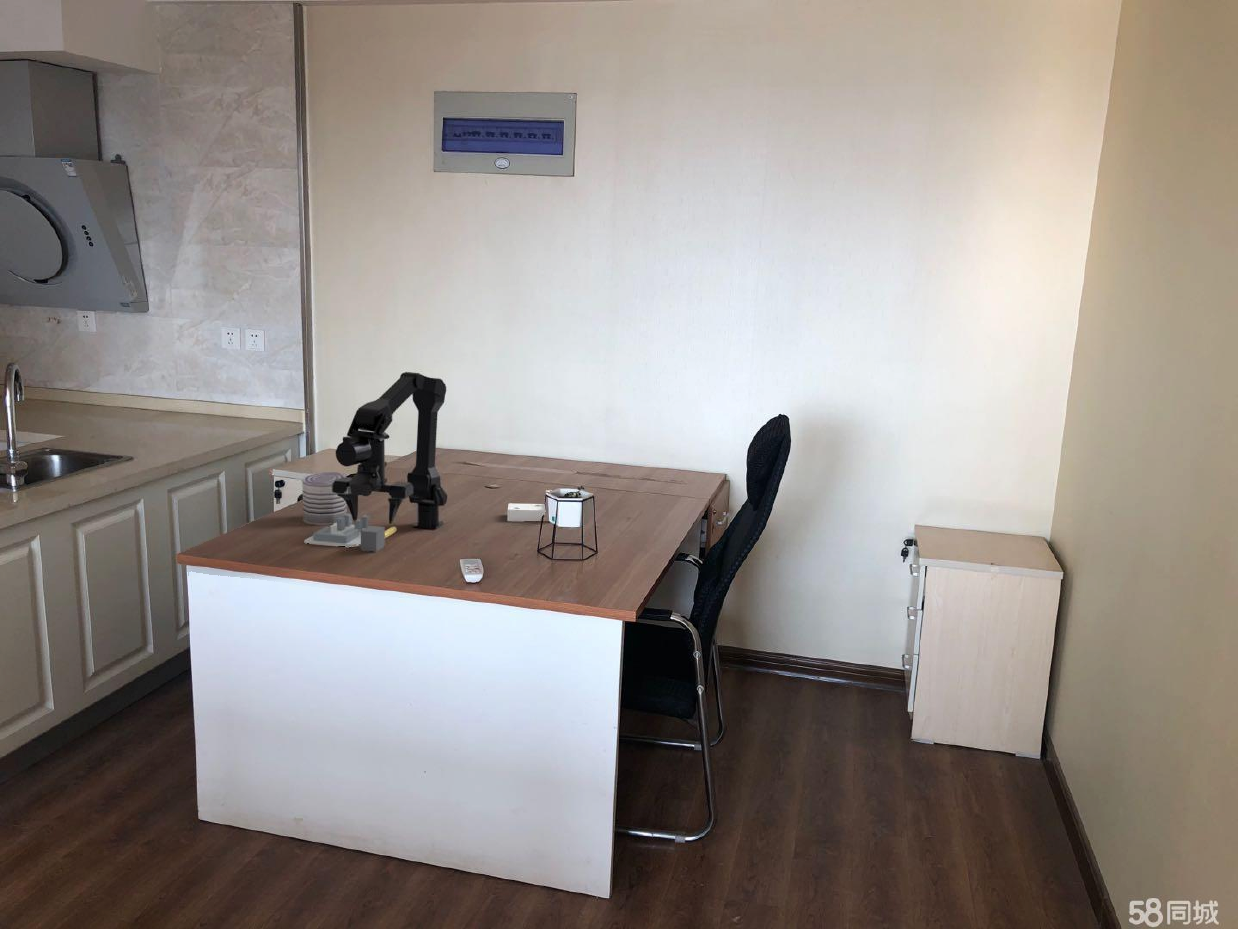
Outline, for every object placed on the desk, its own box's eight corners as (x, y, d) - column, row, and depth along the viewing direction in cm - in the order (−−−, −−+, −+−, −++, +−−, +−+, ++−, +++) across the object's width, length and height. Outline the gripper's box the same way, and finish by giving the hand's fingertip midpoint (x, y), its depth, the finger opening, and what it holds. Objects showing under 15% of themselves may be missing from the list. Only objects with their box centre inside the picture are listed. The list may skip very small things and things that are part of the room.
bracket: (554, 516, 279) (555, 490, 277) (554, 523, 272) (555, 496, 270) (508, 515, 278) (509, 489, 276) (507, 522, 271) (507, 495, 269)
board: (335, 526, 258) (335, 512, 258) (382, 530, 256) (382, 516, 256) (304, 543, 242) (304, 528, 241) (353, 548, 240) (353, 533, 239)
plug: (387, 534, 253) (387, 515, 252) (401, 535, 253) (401, 516, 252) (360, 550, 238) (360, 530, 237) (376, 552, 237) (376, 532, 236)
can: (356, 519, 266) (355, 476, 263) (322, 527, 256) (321, 483, 254) (327, 512, 272) (326, 470, 270) (293, 520, 263) (292, 476, 260)
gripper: (320, 462, 229) (321, 527, 233) (395, 468, 226) (396, 534, 230) (341, 454, 240) (342, 515, 243) (414, 459, 237) (414, 522, 240)
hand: (373, 522), depth 239 cm, fingers open, 9 cm apart
